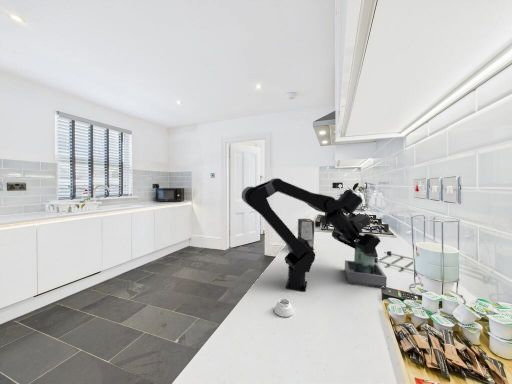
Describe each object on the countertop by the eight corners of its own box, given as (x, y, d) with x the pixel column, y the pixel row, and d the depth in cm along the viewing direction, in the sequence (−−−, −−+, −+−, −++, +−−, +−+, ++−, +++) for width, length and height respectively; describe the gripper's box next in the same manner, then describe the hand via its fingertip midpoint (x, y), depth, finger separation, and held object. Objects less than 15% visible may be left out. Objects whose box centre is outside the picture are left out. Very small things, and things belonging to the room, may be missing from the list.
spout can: (371, 281, 72) (373, 237, 71) (351, 276, 76) (353, 233, 75) (375, 275, 77) (377, 233, 76) (356, 270, 81) (358, 230, 80)
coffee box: (313, 255, 100) (314, 221, 99) (300, 255, 100) (301, 221, 99) (309, 249, 109) (310, 218, 108) (296, 248, 109) (297, 218, 109)
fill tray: (386, 289, 69) (386, 277, 69) (347, 283, 73) (348, 271, 73) (377, 274, 80) (377, 264, 80) (344, 270, 84) (344, 260, 84)
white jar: (274, 306, 59) (274, 317, 54) (274, 296, 59) (275, 306, 54) (292, 307, 59) (294, 318, 54) (292, 296, 58) (294, 307, 53)
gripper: (376, 210, 65) (403, 244, 68) (339, 204, 83) (362, 230, 86) (353, 236, 64) (382, 269, 67) (321, 224, 82) (344, 250, 85)
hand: (366, 252), depth 76 cm, fingers open, 9 cm apart
